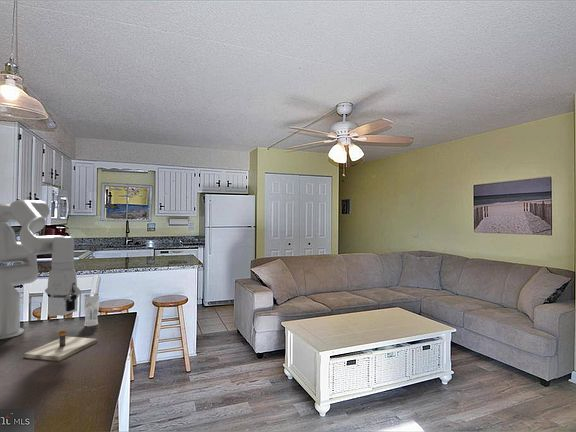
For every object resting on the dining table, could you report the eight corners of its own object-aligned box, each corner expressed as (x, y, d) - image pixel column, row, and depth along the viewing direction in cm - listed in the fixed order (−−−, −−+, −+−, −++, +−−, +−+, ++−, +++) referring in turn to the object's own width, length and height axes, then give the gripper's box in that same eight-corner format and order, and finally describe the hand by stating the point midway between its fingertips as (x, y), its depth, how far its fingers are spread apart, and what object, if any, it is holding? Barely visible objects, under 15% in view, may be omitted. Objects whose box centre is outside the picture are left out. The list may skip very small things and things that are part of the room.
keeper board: (23, 357, 128) (23, 336, 128) (64, 339, 147) (65, 321, 147) (59, 360, 126) (59, 339, 126) (96, 342, 144) (97, 323, 144)
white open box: (48, 314, 134) (48, 297, 134) (62, 310, 140) (62, 293, 140) (63, 315, 132) (63, 298, 132) (77, 310, 139) (77, 294, 139)
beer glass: (86, 328, 163) (87, 297, 163) (80, 325, 167) (81, 295, 167) (101, 324, 168) (102, 294, 168) (95, 321, 172) (95, 292, 172)
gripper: (36, 267, 134) (36, 311, 134) (74, 268, 131) (73, 313, 131) (52, 264, 142) (52, 306, 142) (88, 265, 139) (88, 308, 139)
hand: (62, 309), depth 136 cm, fingers closed on white open box, 7 cm apart
